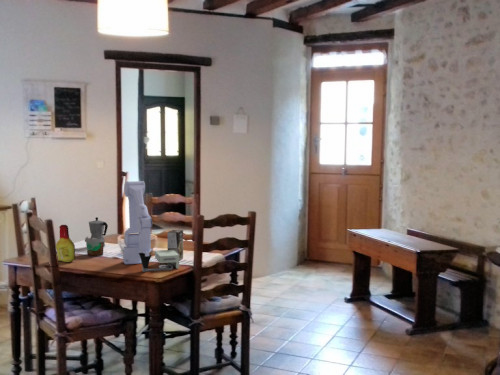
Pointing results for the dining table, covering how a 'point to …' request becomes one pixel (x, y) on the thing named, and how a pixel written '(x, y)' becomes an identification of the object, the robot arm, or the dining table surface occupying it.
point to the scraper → (158, 269)
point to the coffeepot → (97, 228)
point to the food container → (94, 246)
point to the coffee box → (176, 242)
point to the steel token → (163, 266)
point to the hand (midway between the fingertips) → (145, 267)
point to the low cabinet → (168, 257)
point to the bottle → (65, 246)
